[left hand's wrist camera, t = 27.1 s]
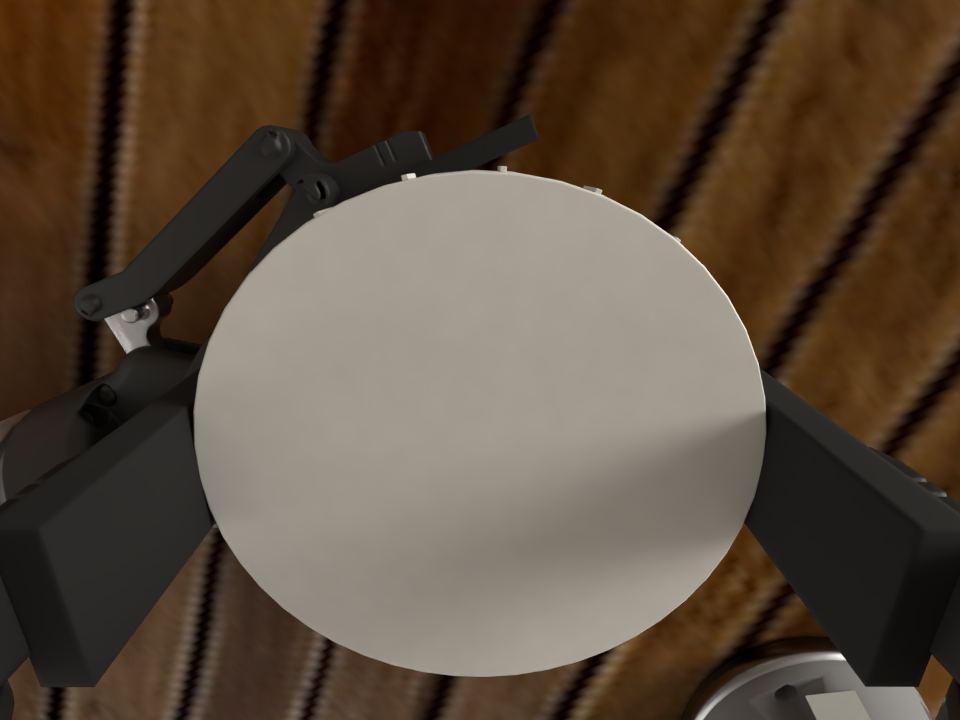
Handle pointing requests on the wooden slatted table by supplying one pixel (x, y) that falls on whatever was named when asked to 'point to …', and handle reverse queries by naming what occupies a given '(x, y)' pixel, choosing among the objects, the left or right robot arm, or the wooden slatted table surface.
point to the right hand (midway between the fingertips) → (585, 279)
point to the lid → (479, 423)
